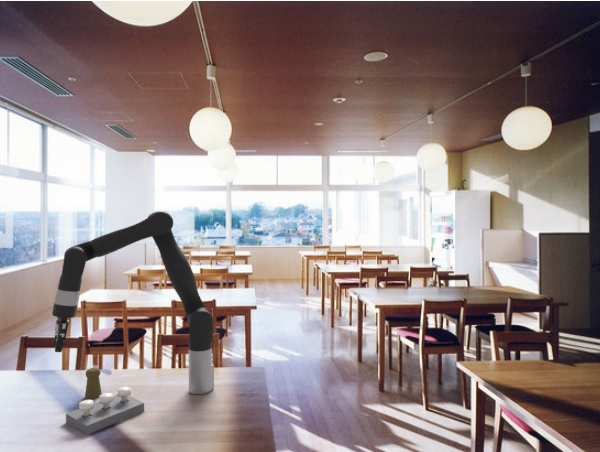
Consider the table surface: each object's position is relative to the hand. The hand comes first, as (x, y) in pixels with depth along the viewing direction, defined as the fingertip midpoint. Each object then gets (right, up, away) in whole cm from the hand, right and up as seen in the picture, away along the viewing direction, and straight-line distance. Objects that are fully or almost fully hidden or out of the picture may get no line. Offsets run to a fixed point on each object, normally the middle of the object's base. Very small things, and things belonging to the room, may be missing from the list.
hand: (57, 348), depth 152 cm
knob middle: (+17, -22, 0) cm, 27 cm away
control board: (+17, -24, 0) cm, 30 cm away
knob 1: (+13, -22, -5) cm, 26 cm away
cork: (+4, -24, +17) cm, 30 cm away
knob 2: (+21, -21, +6) cm, 31 cm away
